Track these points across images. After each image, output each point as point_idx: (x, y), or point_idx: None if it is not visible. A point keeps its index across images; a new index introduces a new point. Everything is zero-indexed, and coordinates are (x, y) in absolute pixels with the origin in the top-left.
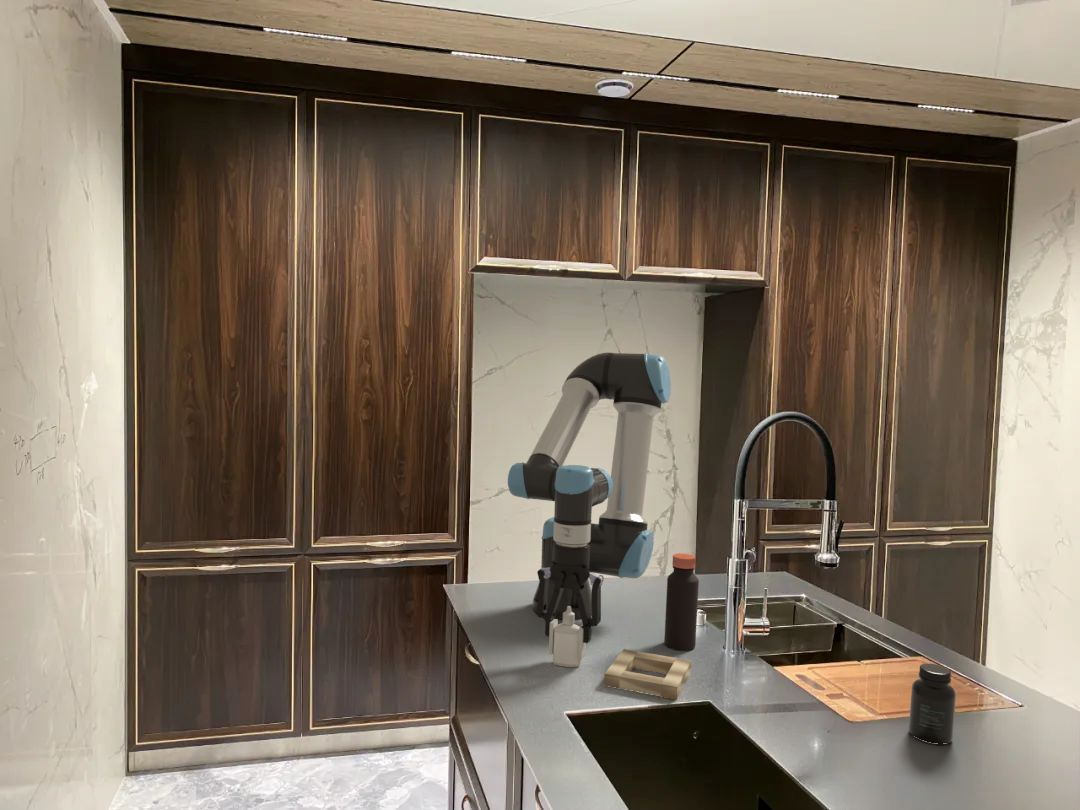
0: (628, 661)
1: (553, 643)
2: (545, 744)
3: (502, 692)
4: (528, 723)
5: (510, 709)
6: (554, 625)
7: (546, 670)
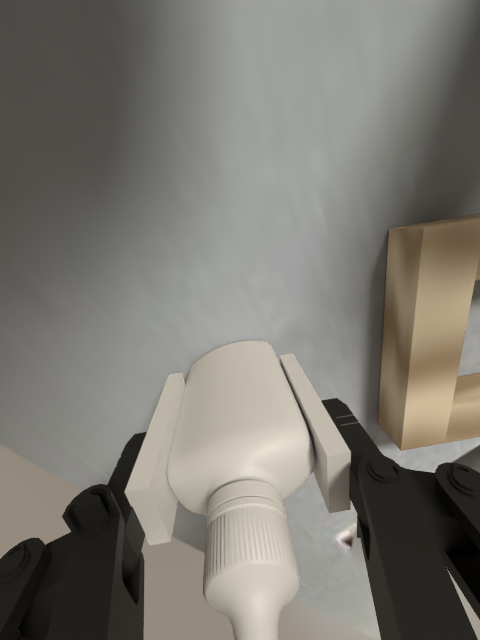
0: (457, 337)
1: None
2: (348, 604)
3: (195, 547)
4: None
5: None
6: (169, 506)
7: None
